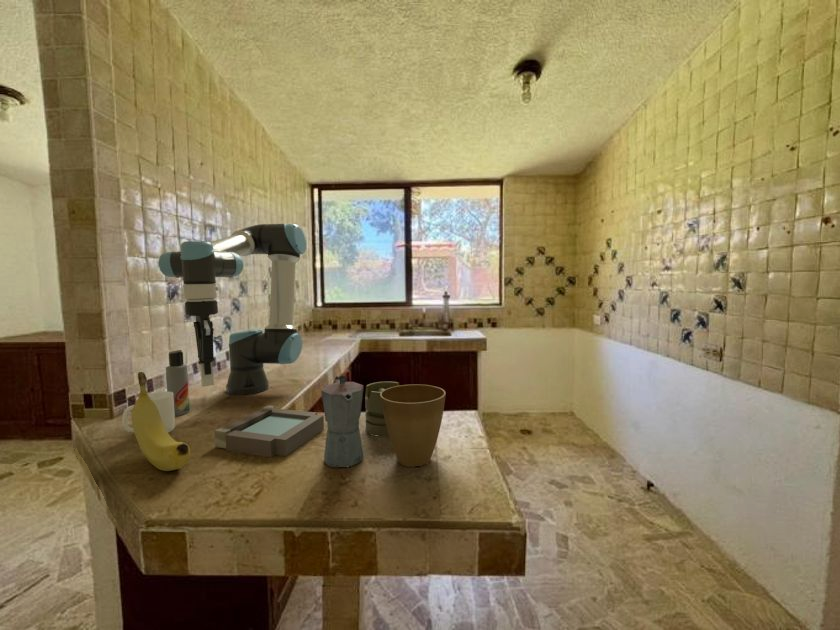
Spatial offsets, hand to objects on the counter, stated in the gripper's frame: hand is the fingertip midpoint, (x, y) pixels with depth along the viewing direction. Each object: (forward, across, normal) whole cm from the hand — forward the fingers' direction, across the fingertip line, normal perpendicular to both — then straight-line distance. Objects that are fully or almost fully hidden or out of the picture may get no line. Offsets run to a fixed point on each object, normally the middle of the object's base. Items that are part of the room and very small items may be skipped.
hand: (207, 385), depth 102 cm
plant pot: (+13, -50, -32) cm, 61 cm away
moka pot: (+13, -39, -20) cm, 46 cm away
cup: (+13, +8, +14) cm, 21 cm away
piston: (+14, -31, -38) cm, 51 cm away
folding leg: (+13, -9, -7) cm, 17 cm away
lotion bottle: (+14, +22, +5) cm, 27 cm away
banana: (+12, -15, +12) cm, 23 cm away
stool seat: (+13, -18, -13) cm, 26 cm away
